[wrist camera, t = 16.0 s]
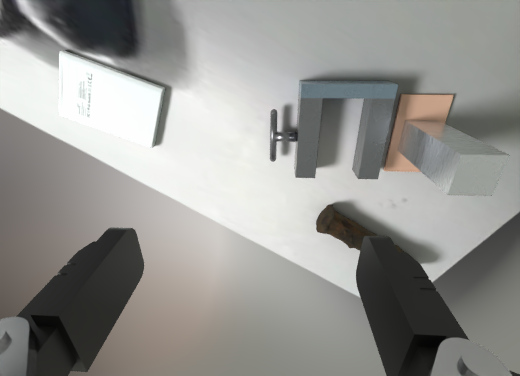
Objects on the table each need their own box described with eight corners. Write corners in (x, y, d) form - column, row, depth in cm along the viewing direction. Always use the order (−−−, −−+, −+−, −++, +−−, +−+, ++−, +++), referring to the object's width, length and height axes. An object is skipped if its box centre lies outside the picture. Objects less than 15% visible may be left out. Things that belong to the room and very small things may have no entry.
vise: (271, 80, 34) (270, 83, 31) (388, 81, 33) (398, 84, 30) (270, 167, 39) (269, 177, 36) (370, 169, 38) (377, 179, 36)
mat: (400, 94, 33) (401, 94, 33) (451, 94, 33) (453, 95, 33) (383, 169, 38) (384, 171, 38) (428, 170, 38) (429, 172, 37)
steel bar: (404, 120, 34) (461, 154, 24) (437, 120, 34) (510, 155, 24) (397, 150, 36) (447, 195, 26) (428, 150, 36) (492, 196, 25)
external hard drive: (156, 144, 39) (66, 113, 37) (167, 87, 35) (67, 49, 34) (151, 148, 37) (57, 116, 36) (162, 88, 34) (58, 50, 32)
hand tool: (312, 218, 43) (315, 237, 39) (328, 200, 41) (334, 217, 37) (400, 271, 47) (412, 293, 43) (419, 257, 45) (433, 278, 41)
